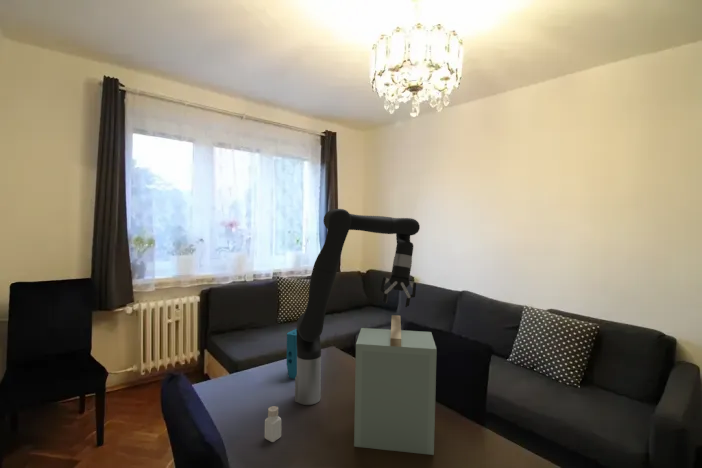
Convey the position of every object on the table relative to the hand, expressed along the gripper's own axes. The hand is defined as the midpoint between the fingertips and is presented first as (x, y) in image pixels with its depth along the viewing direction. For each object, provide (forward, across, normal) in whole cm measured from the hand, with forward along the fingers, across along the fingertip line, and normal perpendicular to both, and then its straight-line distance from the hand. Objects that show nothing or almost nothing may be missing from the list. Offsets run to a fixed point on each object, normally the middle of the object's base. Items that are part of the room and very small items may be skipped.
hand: (395, 305), depth 140 cm
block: (+39, -39, +11) cm, 56 cm away
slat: (+8, +3, -24) cm, 25 cm away
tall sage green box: (+40, +7, -23) cm, 46 cm away
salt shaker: (+46, -30, -33) cm, 64 cm away
